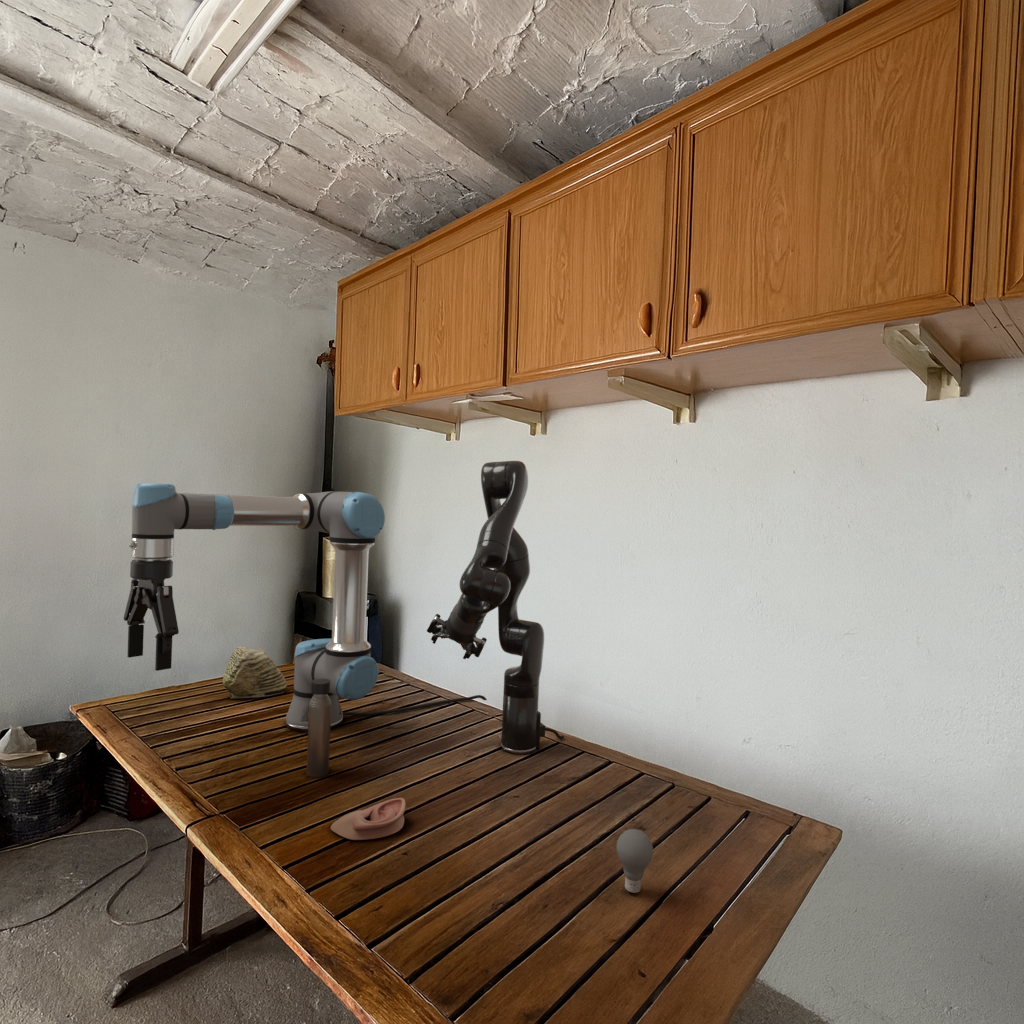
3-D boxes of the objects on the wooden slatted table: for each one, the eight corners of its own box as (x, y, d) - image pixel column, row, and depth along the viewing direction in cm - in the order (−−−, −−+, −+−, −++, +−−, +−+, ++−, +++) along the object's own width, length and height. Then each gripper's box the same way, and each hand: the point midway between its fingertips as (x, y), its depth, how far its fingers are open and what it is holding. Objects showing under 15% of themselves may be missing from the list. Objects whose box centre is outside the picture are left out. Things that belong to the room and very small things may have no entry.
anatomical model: (323, 814, 118) (350, 787, 130) (322, 835, 118) (350, 806, 130) (389, 824, 116) (412, 796, 127) (389, 846, 116) (411, 816, 127)
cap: (307, 693, 143) (308, 682, 143) (316, 688, 147) (316, 677, 147) (325, 695, 142) (325, 684, 142) (333, 690, 147) (333, 679, 147)
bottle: (302, 776, 143) (306, 684, 143) (312, 767, 148) (315, 679, 148) (323, 778, 142) (326, 686, 142) (332, 769, 147) (335, 680, 147)
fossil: (218, 695, 195) (220, 647, 195) (278, 685, 208) (279, 640, 207) (228, 703, 189) (230, 653, 188) (289, 692, 201) (290, 645, 201)
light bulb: (610, 879, 108) (613, 822, 108) (644, 879, 109) (647, 822, 109) (619, 902, 102) (622, 840, 102) (655, 901, 103) (658, 840, 103)
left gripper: (108, 554, 134) (104, 654, 134) (159, 565, 118) (155, 678, 119) (146, 552, 140) (143, 648, 140) (199, 563, 124) (195, 671, 124)
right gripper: (499, 620, 149) (480, 648, 161) (445, 592, 149) (431, 623, 161) (487, 646, 144) (469, 673, 156) (431, 618, 144) (418, 647, 156)
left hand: (148, 662), depth 129 cm, fingers open, 13 cm apart
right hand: (450, 648), depth 159 cm, fingers open, 8 cm apart
